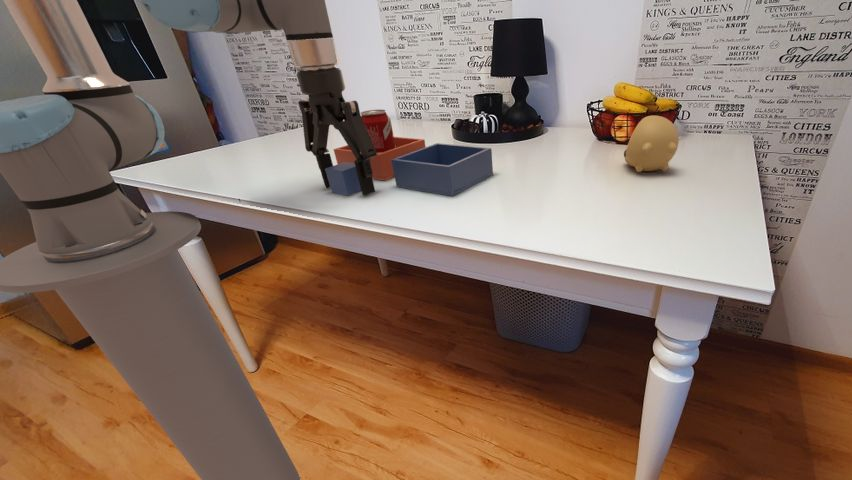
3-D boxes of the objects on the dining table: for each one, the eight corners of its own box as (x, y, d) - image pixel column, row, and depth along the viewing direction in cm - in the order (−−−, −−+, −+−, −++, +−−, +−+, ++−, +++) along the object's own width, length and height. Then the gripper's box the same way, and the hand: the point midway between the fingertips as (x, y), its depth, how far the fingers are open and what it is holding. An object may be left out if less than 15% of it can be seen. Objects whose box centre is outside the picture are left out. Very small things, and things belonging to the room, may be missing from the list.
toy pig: (665, 184, 85) (658, 141, 88) (691, 151, 74) (682, 103, 77) (619, 185, 85) (614, 142, 88) (638, 152, 74) (631, 104, 77)
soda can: (385, 171, 91) (373, 114, 84) (363, 168, 94) (350, 113, 87) (404, 163, 96) (395, 109, 89) (383, 160, 99) (373, 108, 92)
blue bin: (396, 186, 82) (391, 159, 79) (440, 167, 93) (437, 142, 90) (452, 196, 76) (448, 167, 73) (493, 174, 86) (491, 148, 83)
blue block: (331, 192, 81) (324, 168, 79) (350, 185, 85) (344, 161, 82) (348, 196, 79) (341, 171, 76) (367, 188, 83) (361, 164, 80)
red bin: (339, 173, 93) (333, 149, 90) (384, 157, 104) (380, 135, 101) (384, 180, 86) (379, 154, 83) (428, 163, 97) (424, 139, 94)
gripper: (380, 65, 68) (403, 190, 79) (296, 67, 78) (328, 177, 90) (344, 69, 62) (375, 203, 74) (260, 70, 73) (299, 188, 85)
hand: (349, 189), depth 82 cm, fingers open, 10 cm apart
